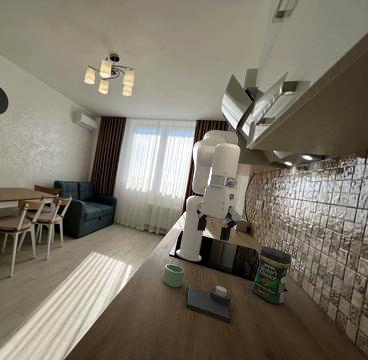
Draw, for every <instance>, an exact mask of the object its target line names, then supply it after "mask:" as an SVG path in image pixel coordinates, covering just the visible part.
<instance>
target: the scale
mask: <svg viewBox="0 0 368 360" xmlns="http://www.w3.org/2000/svg"><path fill="white" fill-rule="evenodd" d="M215 292H216V287H213V288H211V289H210V292H209V291H205V290H202V289H199V288H196V287H193V286H190V285H189V286H188V293H187V299H186V308H188V309H190V310H193V311H196V312H198V313H201V314H205V315H207V316H210V317H213V318H216V319H219V320H221V321H225V322H226V323H231V316H230V313H229V307H228V305H229V304H230V303H231V299H232V296H231V295H230V294H229V292H228V291H227V292H226V297H222V296H219V295H217V294H216V293H215Z"/></svg>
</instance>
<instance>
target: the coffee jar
mask: <svg viewBox="0 0 368 360" xmlns="http://www.w3.org/2000/svg"><path fill="white" fill-rule="evenodd" d="M258 258H259V265H258V268H257V272H256V276H255V277H254V281H253V284H252V288H251V290H252V293H254V294H255V295H257V296H258V297H260V298H261V299H262V300H265V301H266V302H269V303H270V304H275V305H280V304H283V302H284V299H285V287H286V280H287V273H288V270H289V269H290V267H291V265H292V255H291V254H290V253H288V252H286V251H283V250H280V249H277V248H275V247H272V246H268V245H267V246H266V245H264V246H262V247H261V249H260V250H259V253H258Z"/></svg>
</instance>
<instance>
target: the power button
mask: <svg viewBox="0 0 368 360" xmlns="http://www.w3.org/2000/svg"><path fill="white" fill-rule="evenodd" d="M215 288H216V292H215V293H216V294H217V295H219V296H222V297H226V292H227V293H228V290H227V289H226V288H225V287H224V286H221V285H216V287H215Z"/></svg>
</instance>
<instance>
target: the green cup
mask: <svg viewBox="0 0 368 360" xmlns="http://www.w3.org/2000/svg"><path fill="white" fill-rule="evenodd" d="M185 270H186V269H184V268H183V267H182V266H179V265H177V264H173V263H167V264H165V266H164V271H163V277H162V280H163V282H164V283H165V285H167V286H169V287H171V288H179V287H181V286H183V281H184V277H185Z"/></svg>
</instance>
